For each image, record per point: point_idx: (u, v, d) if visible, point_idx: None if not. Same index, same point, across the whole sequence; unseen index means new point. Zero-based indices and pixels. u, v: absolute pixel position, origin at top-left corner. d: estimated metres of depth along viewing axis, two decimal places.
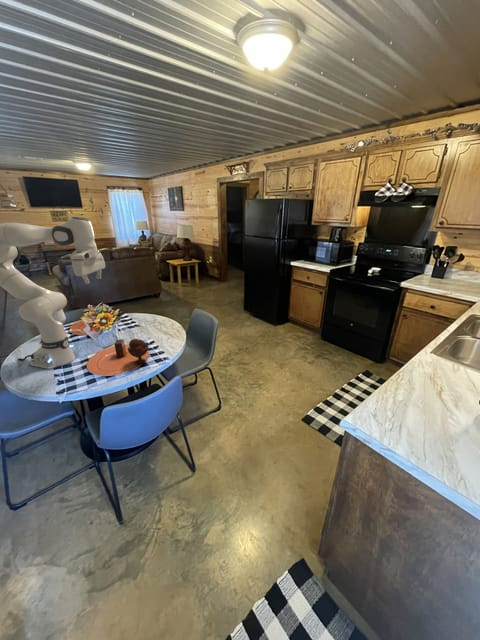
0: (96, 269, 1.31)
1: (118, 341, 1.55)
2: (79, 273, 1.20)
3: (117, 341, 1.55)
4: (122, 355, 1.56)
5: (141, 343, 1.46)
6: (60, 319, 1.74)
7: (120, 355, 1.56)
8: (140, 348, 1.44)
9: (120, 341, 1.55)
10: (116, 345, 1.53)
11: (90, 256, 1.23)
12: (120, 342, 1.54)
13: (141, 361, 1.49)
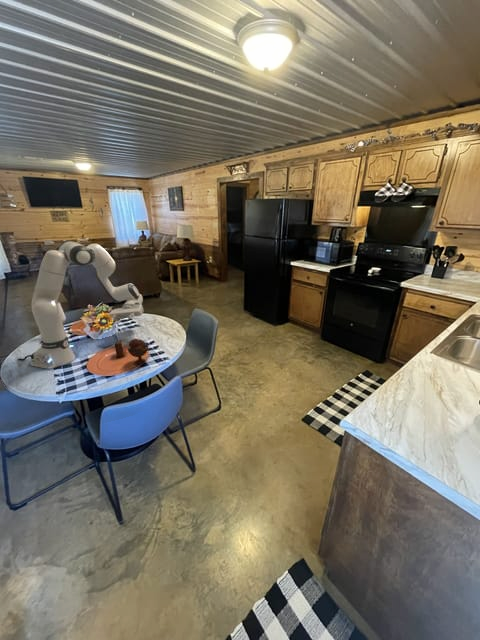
0: None
1: (118, 341, 1.55)
2: (141, 313, 1.64)
3: (117, 341, 1.55)
4: (122, 355, 1.56)
5: (141, 343, 1.46)
6: None
7: (120, 355, 1.56)
8: (140, 348, 1.44)
9: (120, 341, 1.55)
10: (116, 345, 1.53)
11: None
12: (120, 342, 1.54)
13: (141, 361, 1.49)
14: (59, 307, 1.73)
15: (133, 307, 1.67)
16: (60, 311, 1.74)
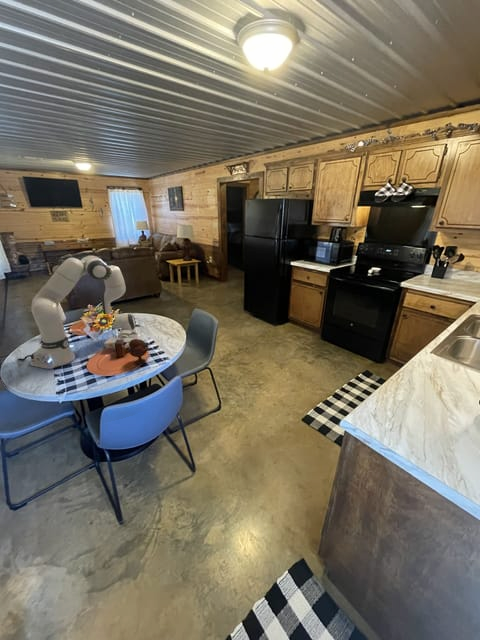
0: None
1: (118, 341, 1.55)
2: None
3: (117, 341, 1.55)
4: (122, 355, 1.56)
5: (141, 343, 1.46)
6: None
7: (120, 355, 1.56)
8: (140, 348, 1.44)
9: (120, 341, 1.55)
10: (116, 345, 1.53)
11: None
12: (120, 342, 1.54)
13: (141, 361, 1.49)
14: (59, 307, 1.73)
15: (130, 337, 1.65)
16: (60, 311, 1.74)
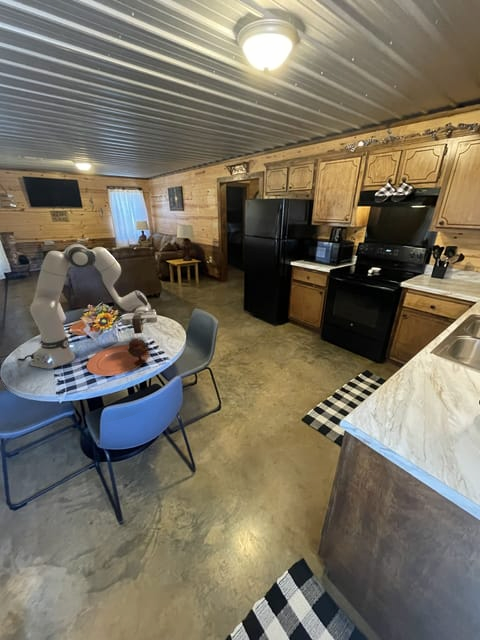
0: None
1: (135, 316, 1.49)
2: (156, 320, 1.57)
3: (134, 316, 1.49)
4: (139, 331, 1.50)
5: (141, 343, 1.46)
6: None
7: (138, 331, 1.49)
8: (140, 348, 1.44)
9: (138, 316, 1.49)
10: (134, 320, 1.47)
11: None
12: (138, 317, 1.48)
13: (141, 361, 1.49)
14: (59, 307, 1.73)
15: (147, 313, 1.59)
16: (60, 311, 1.74)
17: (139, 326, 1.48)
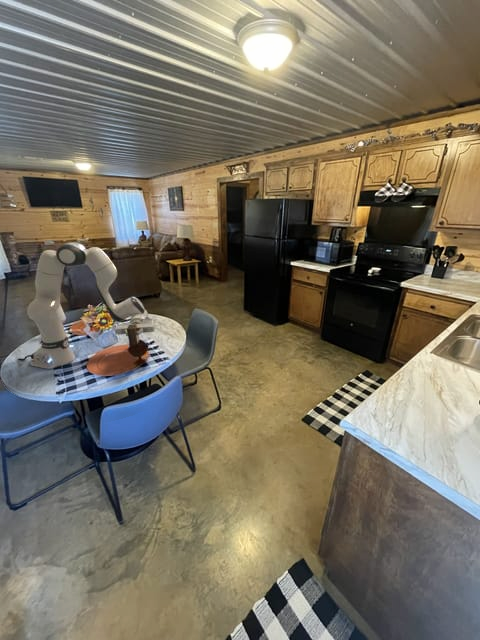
0: None
1: (131, 326, 1.36)
2: (154, 329, 1.45)
3: (130, 326, 1.36)
4: (135, 342, 1.37)
5: (141, 343, 1.46)
6: (60, 319, 1.74)
7: (133, 342, 1.37)
8: (140, 348, 1.44)
9: (133, 326, 1.36)
10: (129, 330, 1.34)
11: None
12: (133, 327, 1.35)
13: (141, 361, 1.49)
14: (59, 307, 1.73)
15: (143, 322, 1.46)
16: (60, 311, 1.74)
17: (135, 337, 1.36)
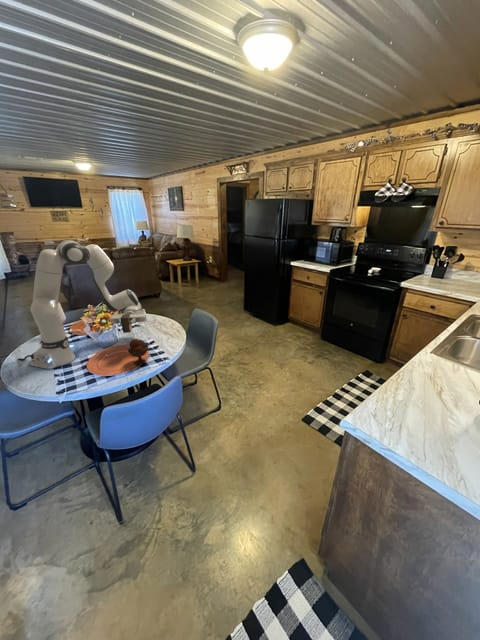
0: None
1: (124, 316, 1.49)
2: (146, 319, 1.57)
3: (123, 316, 1.49)
4: (128, 330, 1.50)
5: (141, 343, 1.46)
6: None
7: (126, 330, 1.49)
8: (140, 348, 1.44)
9: (126, 316, 1.49)
10: (122, 319, 1.47)
11: None
12: (126, 317, 1.48)
13: (141, 361, 1.49)
14: (59, 307, 1.73)
15: (136, 313, 1.59)
16: (60, 311, 1.74)
17: (128, 325, 1.48)
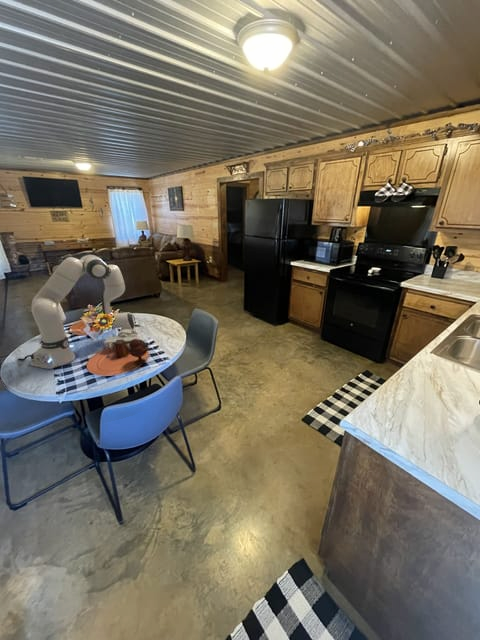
0: None
1: (118, 341, 1.55)
2: None
3: (117, 341, 1.55)
4: (122, 355, 1.56)
5: (141, 343, 1.46)
6: None
7: (120, 355, 1.56)
8: (140, 348, 1.44)
9: (120, 341, 1.55)
10: (116, 345, 1.53)
11: None
12: (120, 342, 1.54)
13: (141, 361, 1.49)
14: (59, 307, 1.73)
15: (130, 336, 1.65)
16: (60, 311, 1.74)
17: (121, 350, 1.55)
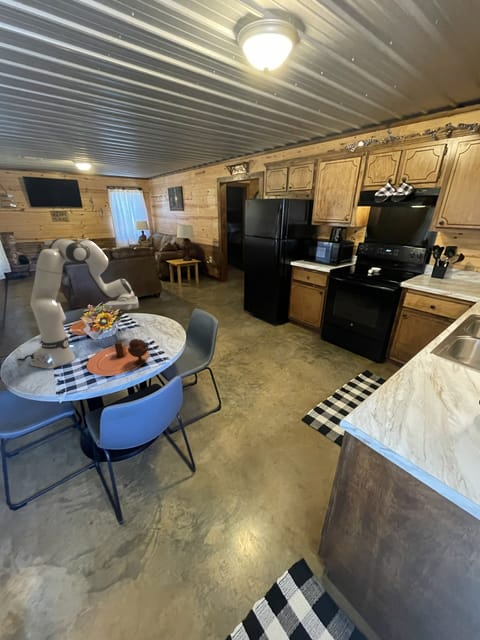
0: None
1: (118, 341, 1.55)
2: (138, 306, 1.67)
3: (117, 341, 1.55)
4: (122, 355, 1.56)
5: (141, 343, 1.46)
6: None
7: (120, 355, 1.56)
8: (140, 348, 1.44)
9: (120, 341, 1.55)
10: (116, 345, 1.53)
11: None
12: (120, 342, 1.54)
13: (141, 361, 1.49)
14: (59, 307, 1.73)
15: (129, 300, 1.69)
16: (60, 311, 1.74)
17: (121, 350, 1.55)
